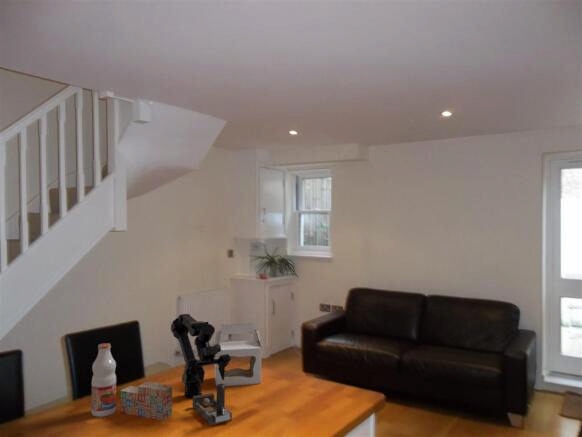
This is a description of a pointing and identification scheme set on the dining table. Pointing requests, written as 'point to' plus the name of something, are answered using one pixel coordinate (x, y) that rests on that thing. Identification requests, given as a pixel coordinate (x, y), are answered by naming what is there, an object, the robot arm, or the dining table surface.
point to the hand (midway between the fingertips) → (213, 381)
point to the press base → (207, 407)
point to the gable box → (239, 350)
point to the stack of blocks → (147, 400)
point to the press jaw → (220, 405)
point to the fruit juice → (103, 383)
